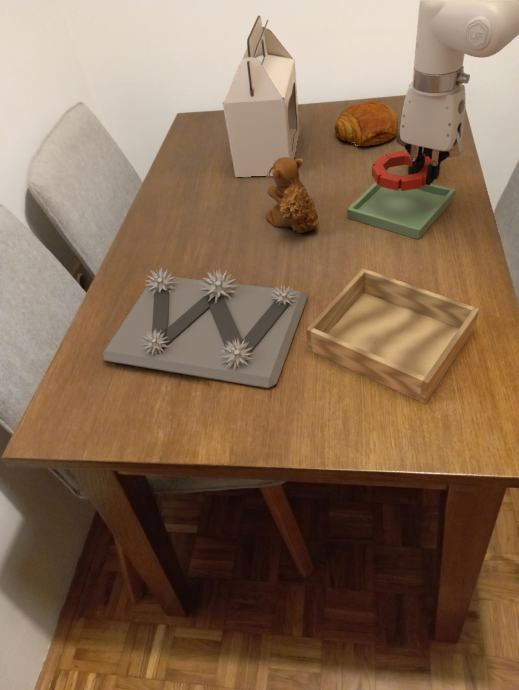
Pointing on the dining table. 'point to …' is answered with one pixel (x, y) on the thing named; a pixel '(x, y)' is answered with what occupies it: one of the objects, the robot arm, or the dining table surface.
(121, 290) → the dining table surface
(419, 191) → the tray
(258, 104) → the gable box
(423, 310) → the crate
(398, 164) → the ring
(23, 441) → the dining table surface
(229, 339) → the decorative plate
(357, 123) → the croissant
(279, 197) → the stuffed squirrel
